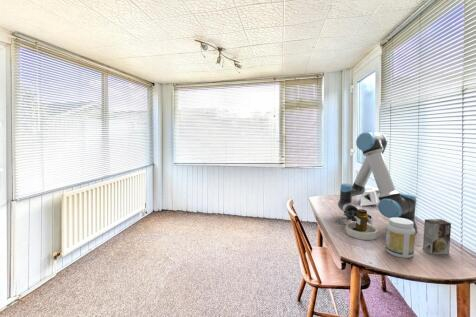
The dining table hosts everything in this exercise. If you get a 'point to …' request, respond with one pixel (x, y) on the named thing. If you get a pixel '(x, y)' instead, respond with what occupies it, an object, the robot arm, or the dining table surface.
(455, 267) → the dining table surface
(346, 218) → the grey square frame
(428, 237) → the coffee box
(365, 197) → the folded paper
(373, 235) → the bowl
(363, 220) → the condiment
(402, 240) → the supplement tub
